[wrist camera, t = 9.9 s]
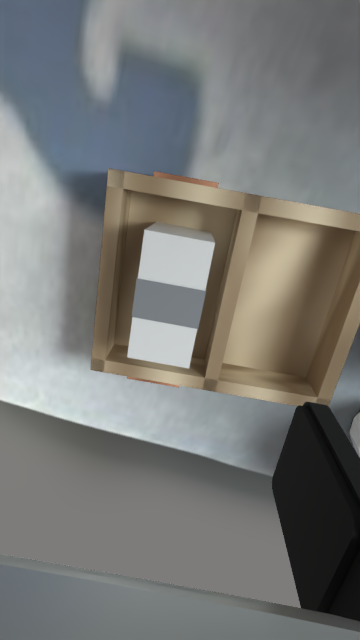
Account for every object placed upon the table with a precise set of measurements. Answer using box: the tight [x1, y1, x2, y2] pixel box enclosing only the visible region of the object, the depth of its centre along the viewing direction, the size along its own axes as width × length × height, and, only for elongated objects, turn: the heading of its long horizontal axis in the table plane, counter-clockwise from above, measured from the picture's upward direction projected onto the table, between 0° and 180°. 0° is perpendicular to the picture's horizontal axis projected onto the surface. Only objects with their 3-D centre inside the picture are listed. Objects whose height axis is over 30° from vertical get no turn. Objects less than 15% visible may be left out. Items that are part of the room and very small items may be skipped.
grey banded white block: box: [127, 222, 215, 368], centre depth 23 cm, size 4×8×6 cm, turn 170°
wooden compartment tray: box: [91, 168, 360, 406], centre depth 25 cm, size 18×15×4 cm
